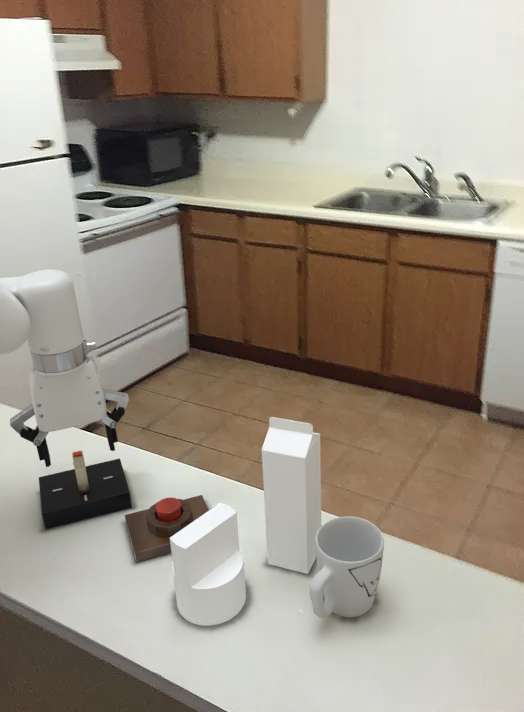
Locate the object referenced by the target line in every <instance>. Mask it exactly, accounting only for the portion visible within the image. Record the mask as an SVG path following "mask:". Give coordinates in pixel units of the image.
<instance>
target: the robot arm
mask: <svg viewBox="0 0 524 712" xmlns="http://www.w3.org/2000/svg"><path fill="white" fill-rule="evenodd" d="M73 281H74V280H73V278H72V276H71V275H70V274H69V273H67V272H66V271H64V270H61V269H40V270H36V271H32V272H30V273H27V274H25V275H22V276H11V277H10V276H9V277H0V355H7V354H11V353H12V352H15V351H17V350H19V349H20V348H21V347H23V345H24V344H26V342H27V345H28V348H29V349H28V350H29V353H30V357H31V361H32V363H31V364H30V365H29V367H28V380H29V381H28V384H29V391H30V398H31V402H32V403H30V404H29V405H28V406H26V407H25V408H23V409H22V410H21V411H19V412H17V413H16V414H15V415H14V416H13V417H11V418H10V419H9V426H10V427H11V429H13V430H14V431H15V432H16V433H18V435H19V437H20V438H22V439H24V440H26V441H28V442H31V443H32V444H33V446H35V447H36V450H37V455H38V458H39V461H40V462H41V461H44V465H45V467H46V468H49V467H50V466H52V462H51V455H50V450H49V446H48V443H47V435H48V434H49V433H51V432H52V433H53V432H57V431H62V430H65V429H70V428H74V427H79V426H83V425H87V424H88V425H89V424H92V423H96V422H101V423H103V424H104V428H105V434H106V437H107V438H106V440H107V444H108V447H109V451H111V452H115V451H116V446H115V443H119V439H118V434H117V433H118V432H117V428H116V427H117V426H118V423H119V422H120V420H121V419H122V418H123V416H125V414H126V409H127V407H128V406H129V405H128V404H129V402H130V396H129V394H128V393H126V392H122V391H118V390H113V389H109V388H103V385H102V380H101V378H100V372H99V371H98V366H97V364H96V361H95V359H94V357H93V354H91V352H92V351H96V350H97V346H96V341H95V340H92V341H90V340H87V339H85V338H84V333H83V328H82V322H81V318H80V312H79V307H78V306H79V305H78V302H77V297H76V292H75V291H76V290H75V286H74V282H73ZM106 401H111V402H115V403H117V404H116V405H115V407H114V408H113V409H112V411H110V410H108V409H107V403H106ZM33 417H34V419H35V422H36V426H35V428H32V427H29V426H28V425H26V424H25V423H26V422H27V421H28V420H29V419H31V418H33Z"/></svg>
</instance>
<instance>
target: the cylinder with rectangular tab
mask: <svg viewBox="0 0 524 712" xmlns="http://www.w3.org/2000/svg"><path fill="white" fill-rule="evenodd" d="M238 525H239V524H238V512H237V511H236V510H235V509H234V508H233V507H231V506H230V505H228V504H226V503H222V502H219V503H217V504H216V505H215V506H213V507H212V508H210V509H209V511H208V512H206V513H205V514H203V515H202V516H200V517H199V518H198V519H196V520H195V521H193V522H192V523H190V524H189V525H187V526H186V527H185V528H183V529H182V530H180V531H179V532H177V533H176V534H174V535H173V536H172V537H170V544H171V558H172V564H171V566H172V577H173V584H174V592H175V593H174V594H175V600H176V608H177V611H178V612H179V614H180V615H181V617H183V618H184V619H185V620H186V621H188V622H189V623H191V624H192V625H193V624H194V625H198V626H203V627H204V626H206V627H207V626H209V627H210V626H216V625H217V626H218V625H221V624H223V623H226V622H228V621H230V620H231V619H233V618H234V617H236V616H237V615H238V614H239V613H240V612H241V610H242V609H243V607H244V605H245V603H246V599H247V589H246V576H245V575H246V574H245V564H244V563H245V562H244V556H243V553H242V551H241V549H240V539H239V538H240V537H239V526H238Z"/></svg>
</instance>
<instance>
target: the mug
mask: <svg viewBox="0 0 524 712" xmlns="http://www.w3.org/2000/svg"><path fill="white" fill-rule="evenodd" d="M315 547H316V564H317V573H316V574H315V575H314V576H313V578H312V580H311V582H310V584H309V597H310V601H311V604H312V609H313V612H314V614H315V616H317V617H318V618H319V619H322V620H323V619H326V618H328V617H329V616H330V615H331V614H333V613H334V614H335V615H337V616H340V617H342V618H343V617H344V618H357V617H361V616H363V615H364V614H366V613H368V611H370V610H371V608H372V606H373V604H374V601H375V598H376V594H377V590H378V586H379V583H380V579H381V575H382V574H381V573H382V566H383V559H384V550H385V540H384V536H383V533H382V531H381V530H380V528H378V526H377V525H376V524H374V523H373V522H371V521H369V520H367V519H365V518H362V517H358V516H351V515H350V516H337V517H335V518H332V519H329V520H327V521H325V522H323V524H321V527H320V528H319V530H318V531H317V534H316V538H315Z"/></svg>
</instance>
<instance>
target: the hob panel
mask: <svg viewBox="0 0 524 712" xmlns="http://www.w3.org/2000/svg"><path fill="white" fill-rule="evenodd" d="M85 467H86V472H87V478H88V483H89V488H90V492H87V493H83V494H79V489H78V484H77V479H76V474H75V468H74V469H68V470H63V471H59V472H55V473H50V474H47V475H42V476H39V477H38V485H39V486H38V487H39V496H40V507H41V516H42V521H43V525H44V529H45V531H47V530H51V529H55V528H57V527H62V526H67V525H70V524H73V523H77V522H81V521H85V520H89V519H93V518H96V517H101V516H105V515H108V514H113V513H117V512H120V511H124V510H127V509H132V508H133V504H132V498H131V492H130V488H129V485H128V481H127V478H126V474H125V470H124V468H123V464H122V461H121V458H115V459H111V460H107V461H102V462H98V463H94V464H90V465H85Z"/></svg>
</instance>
